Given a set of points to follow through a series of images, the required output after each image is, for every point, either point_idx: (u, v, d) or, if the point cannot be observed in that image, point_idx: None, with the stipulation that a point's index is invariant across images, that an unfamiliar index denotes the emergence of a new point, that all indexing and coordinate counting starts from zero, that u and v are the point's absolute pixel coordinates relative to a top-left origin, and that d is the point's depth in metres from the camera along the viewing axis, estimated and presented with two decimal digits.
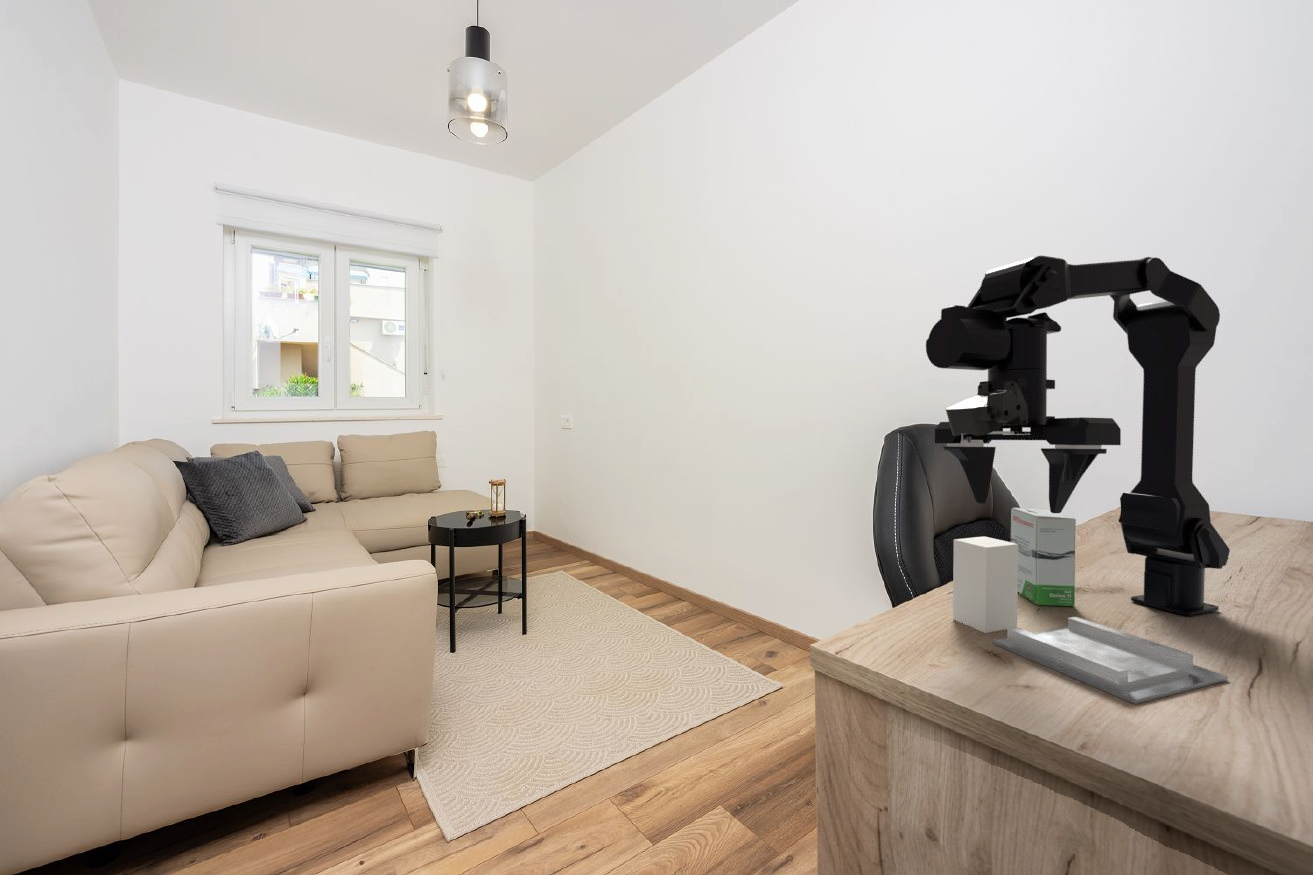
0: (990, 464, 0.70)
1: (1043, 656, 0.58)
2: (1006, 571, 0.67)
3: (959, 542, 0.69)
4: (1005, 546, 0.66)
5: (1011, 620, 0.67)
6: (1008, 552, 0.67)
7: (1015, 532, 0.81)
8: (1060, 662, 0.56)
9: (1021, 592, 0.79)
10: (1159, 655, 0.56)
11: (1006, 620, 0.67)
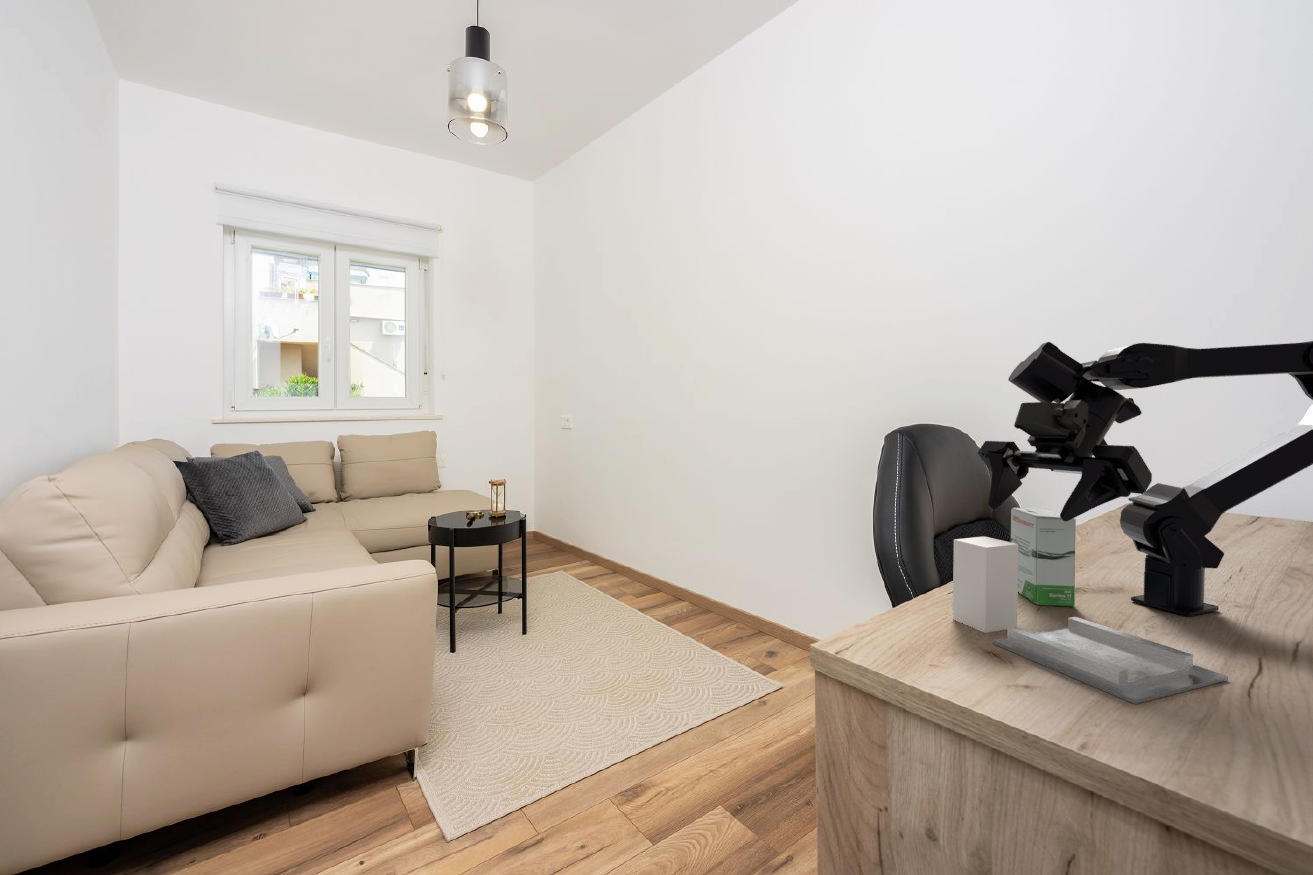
0: (1013, 489, 0.77)
1: (1043, 656, 0.58)
2: (1006, 571, 0.67)
3: (959, 542, 0.69)
4: (1005, 546, 0.66)
5: (1011, 620, 0.67)
6: (1008, 552, 0.67)
7: (1015, 532, 0.81)
8: (1060, 662, 0.56)
9: (1021, 592, 0.79)
10: (1159, 655, 0.56)
11: (1006, 620, 0.67)
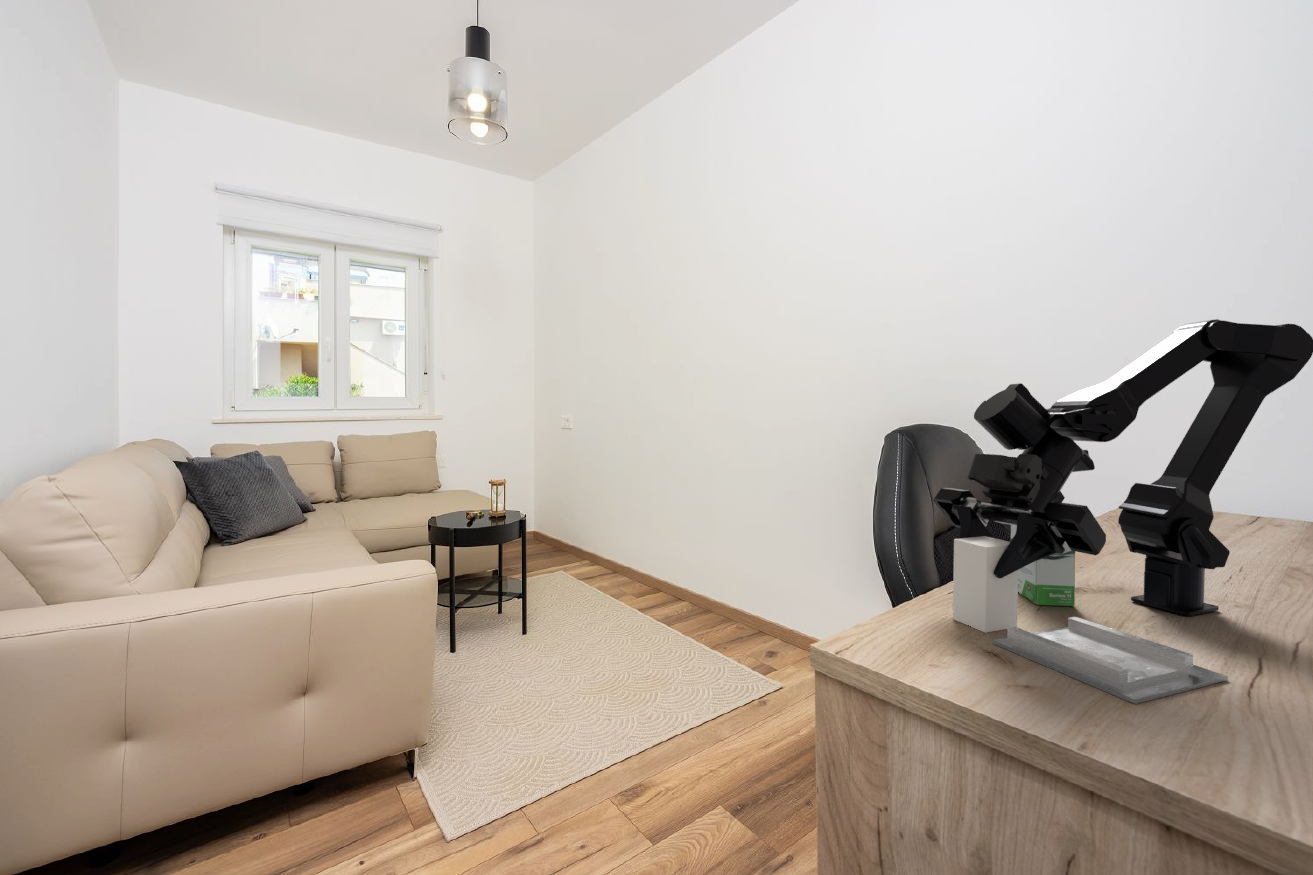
0: None
1: (1043, 656, 0.58)
2: None
3: (959, 542, 0.69)
4: (1005, 546, 0.66)
5: (1011, 620, 0.67)
6: None
7: (1015, 532, 0.81)
8: (1060, 662, 0.56)
9: (1021, 592, 0.79)
10: (1159, 655, 0.56)
11: (1006, 619, 0.67)
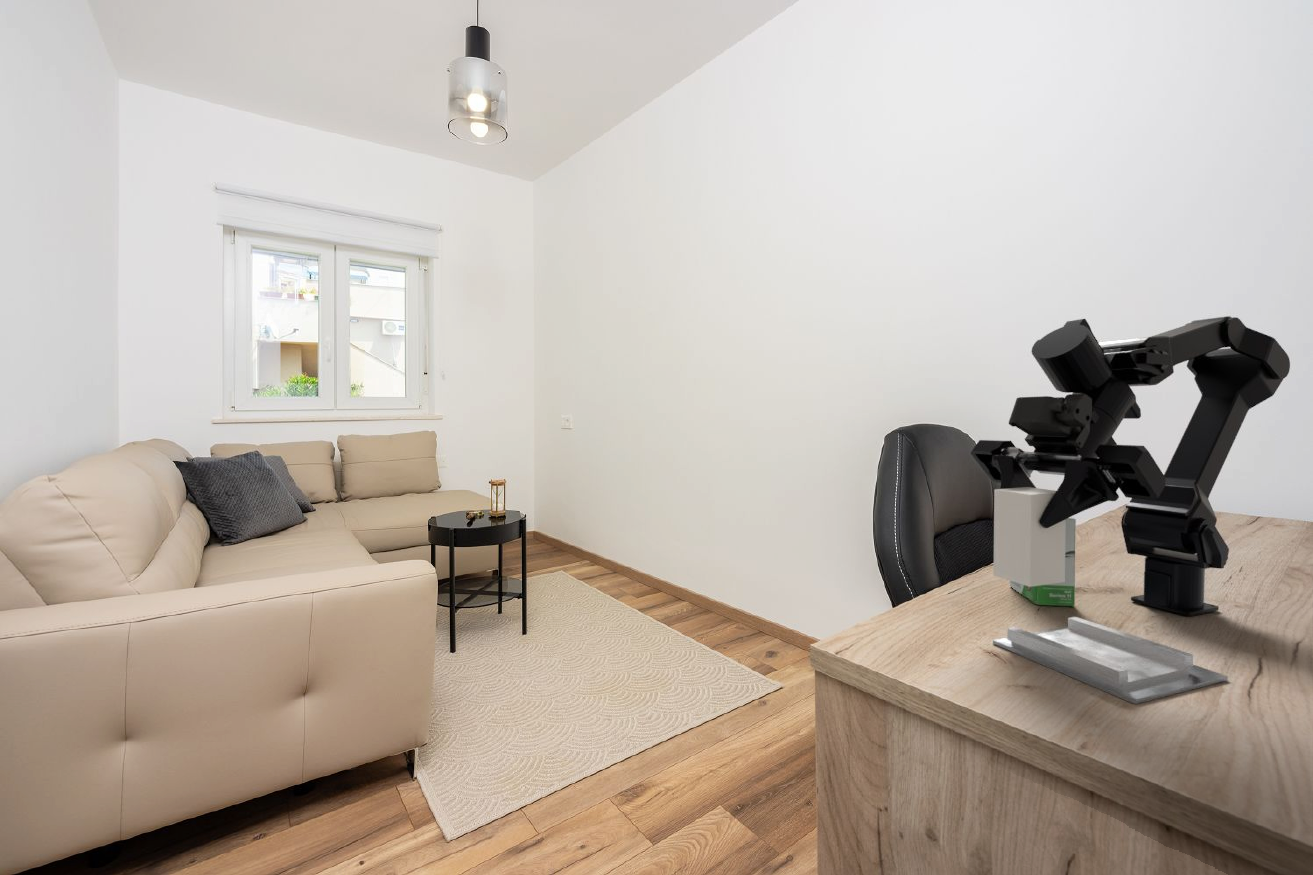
0: None
1: (1043, 656, 0.58)
2: None
3: (1000, 492, 0.64)
4: (1052, 494, 0.62)
5: (1058, 574, 0.62)
6: None
7: None
8: (1060, 662, 0.56)
9: (1021, 592, 0.79)
10: (1159, 655, 0.56)
11: (1053, 573, 0.62)
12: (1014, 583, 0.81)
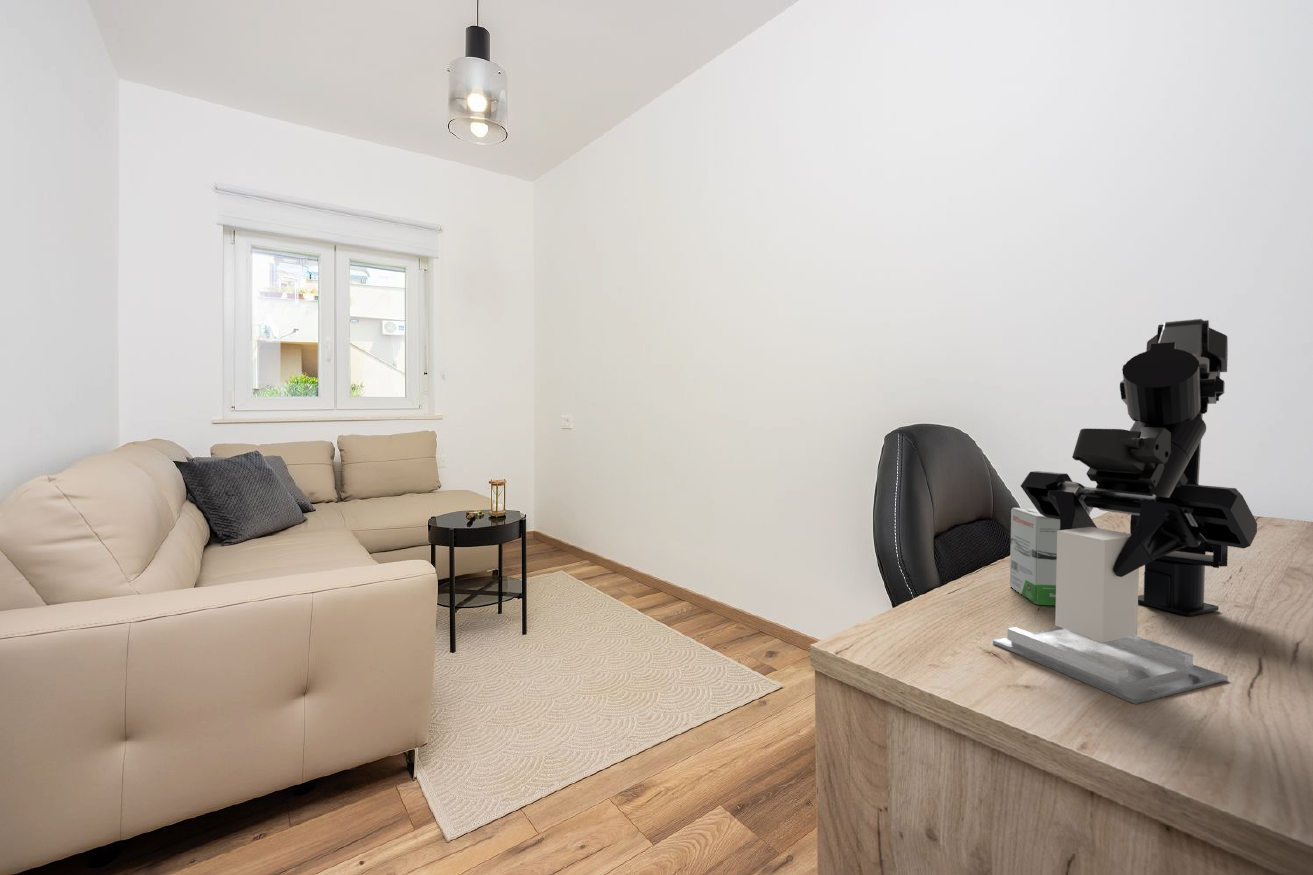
0: None
1: (1043, 656, 0.58)
2: None
3: (1065, 534, 0.58)
4: (1125, 538, 0.55)
5: (1131, 627, 0.56)
6: None
7: (1015, 532, 0.81)
8: (1060, 662, 0.56)
9: (1021, 592, 0.79)
10: (1159, 655, 0.56)
11: (1126, 626, 0.56)
12: (1014, 583, 0.81)
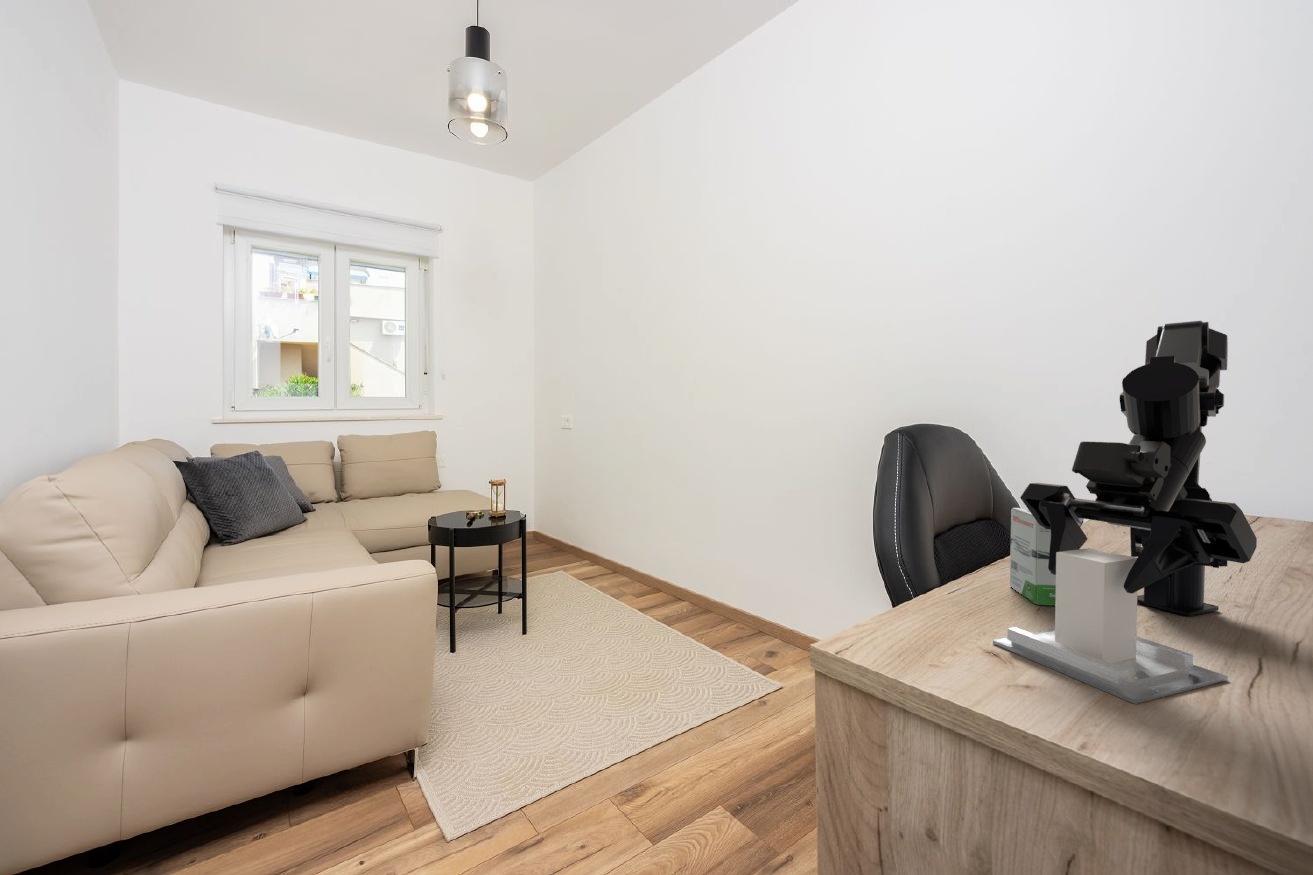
0: (1077, 547, 0.62)
1: (1043, 656, 0.58)
2: (1125, 591, 0.56)
3: (1064, 556, 0.58)
4: (1124, 561, 0.55)
5: (1130, 649, 0.56)
6: (1127, 568, 0.56)
7: (1015, 532, 0.81)
8: (1060, 662, 0.56)
9: (1021, 592, 0.79)
10: (1159, 655, 0.56)
11: (1125, 649, 0.56)
12: (1014, 583, 0.81)
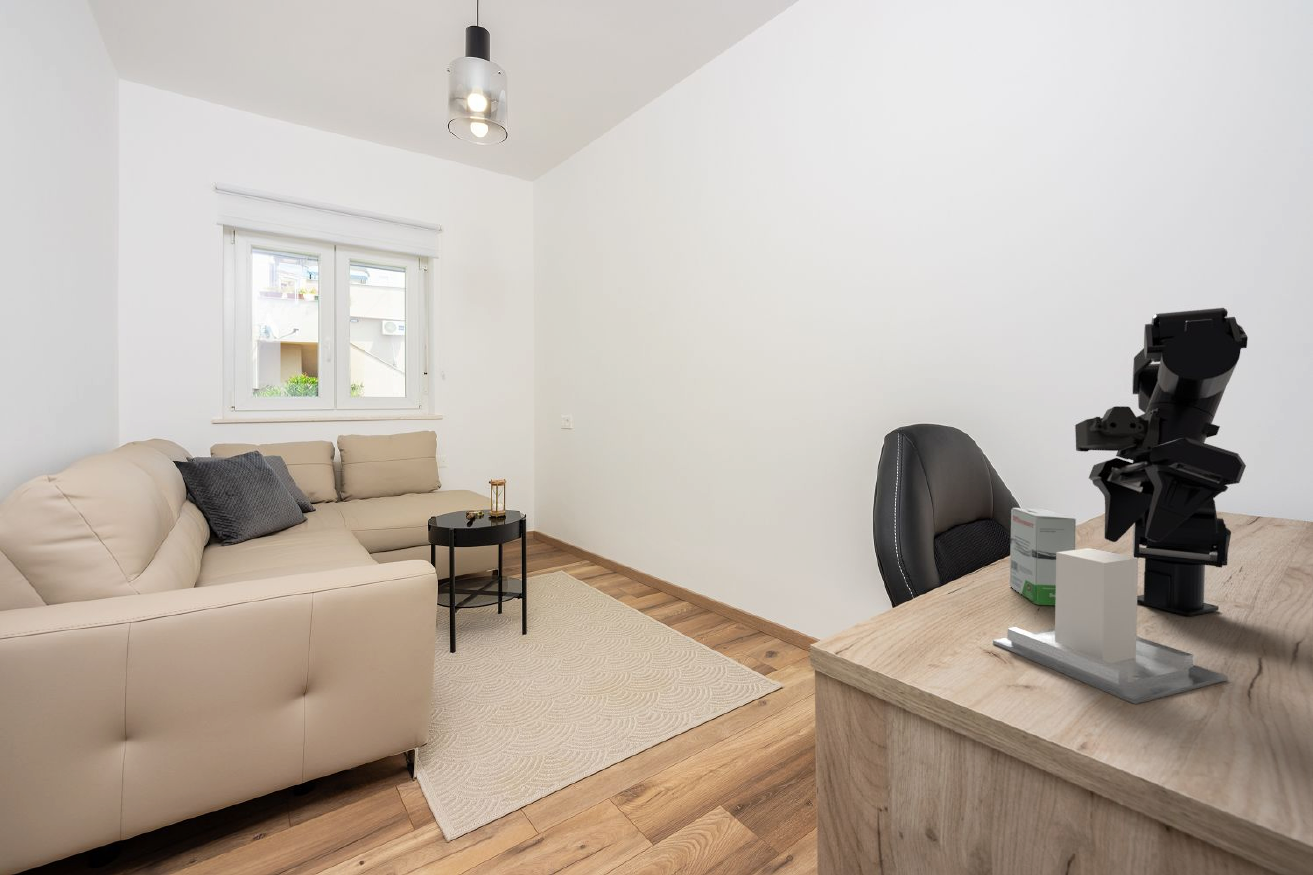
0: (1140, 510, 0.68)
1: (1043, 656, 0.58)
2: (1125, 591, 0.56)
3: (1064, 556, 0.58)
4: (1124, 561, 0.55)
5: (1130, 649, 0.56)
6: (1127, 568, 0.56)
7: (1015, 532, 0.81)
8: (1060, 662, 0.56)
9: (1021, 592, 0.79)
10: (1159, 655, 0.56)
11: (1125, 649, 0.56)
12: (1014, 583, 0.81)
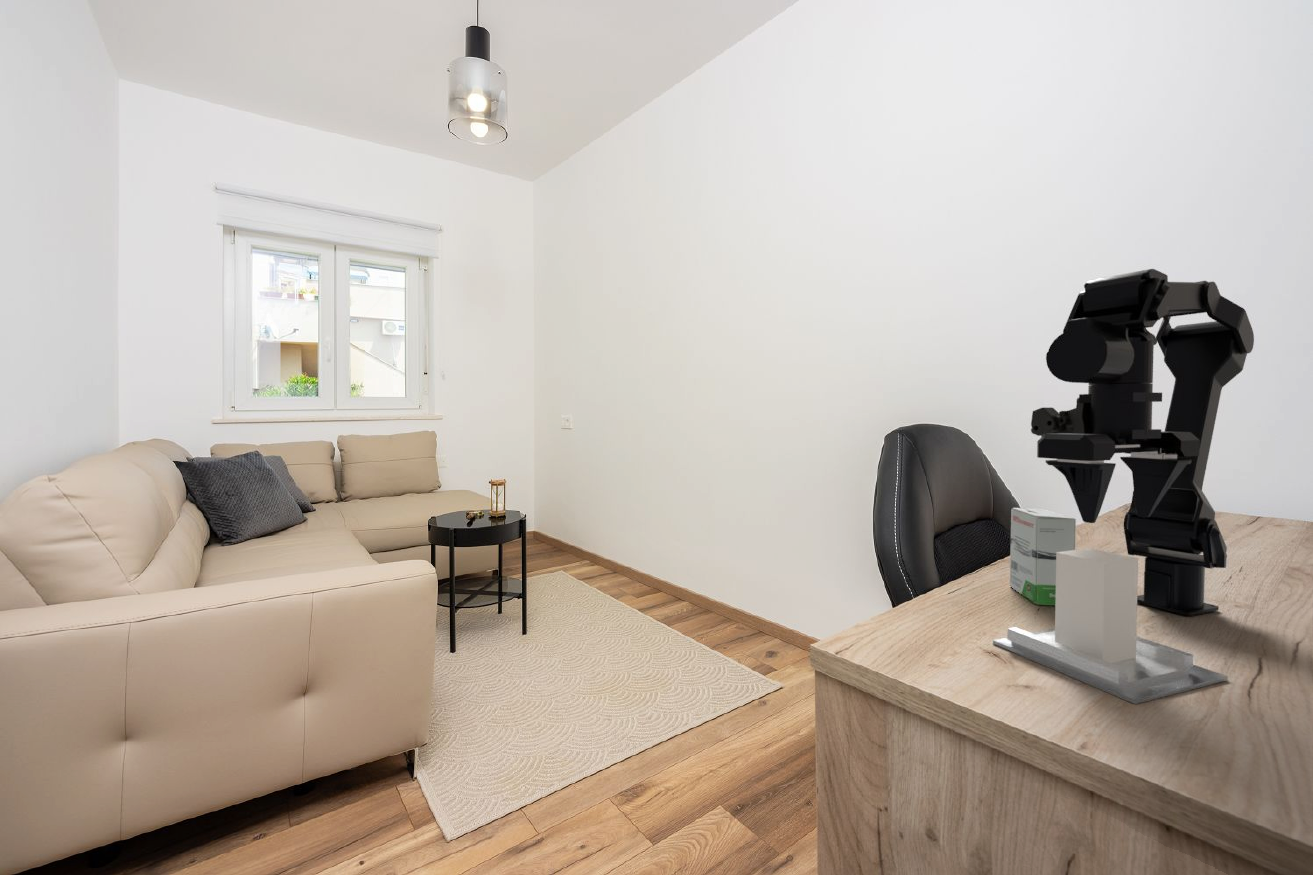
0: (1163, 478, 0.65)
1: (1043, 656, 0.58)
2: (1125, 591, 0.56)
3: (1064, 556, 0.58)
4: (1124, 561, 0.55)
5: (1130, 649, 0.56)
6: (1127, 568, 0.56)
7: (1015, 532, 0.81)
8: (1060, 662, 0.56)
9: (1021, 592, 0.79)
10: (1159, 655, 0.56)
11: (1125, 649, 0.56)
12: (1014, 583, 0.81)
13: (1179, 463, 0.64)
